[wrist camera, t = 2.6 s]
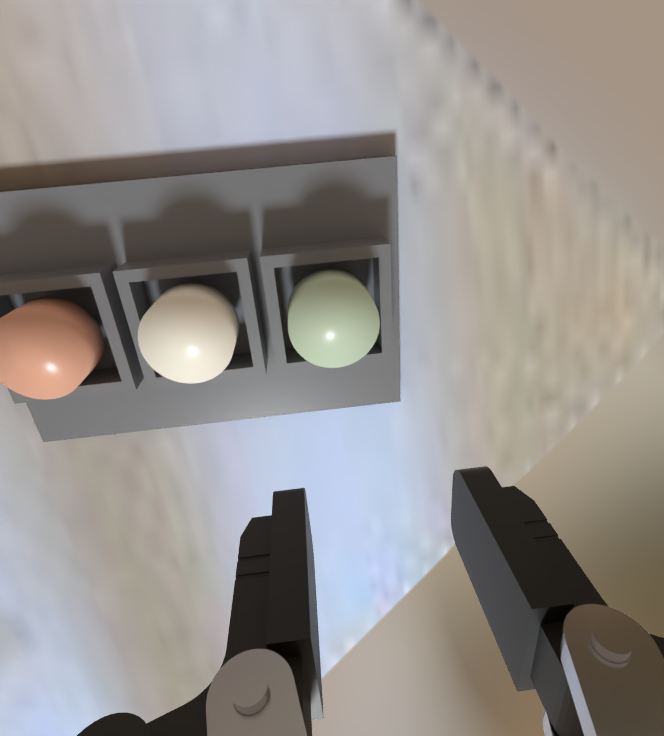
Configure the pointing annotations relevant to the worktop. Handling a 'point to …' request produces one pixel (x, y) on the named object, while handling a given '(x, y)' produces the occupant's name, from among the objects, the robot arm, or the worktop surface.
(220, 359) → the cream button
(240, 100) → the worktop surface
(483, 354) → the worktop surface
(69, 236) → the button panel
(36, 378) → the terracotta button
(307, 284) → the sage button
